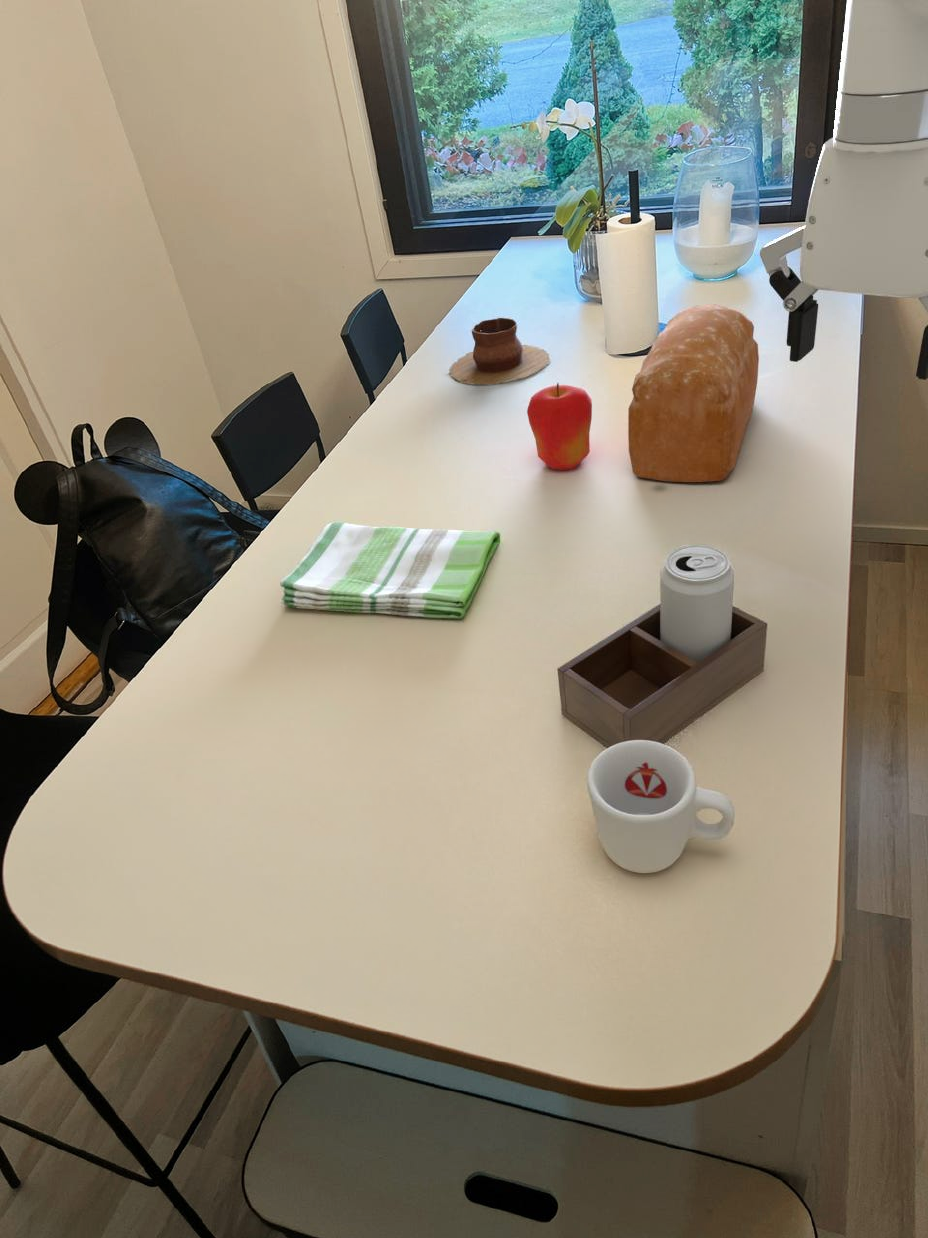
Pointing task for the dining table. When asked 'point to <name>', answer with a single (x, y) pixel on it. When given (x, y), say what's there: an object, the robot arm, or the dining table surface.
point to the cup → (650, 805)
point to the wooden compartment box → (655, 680)
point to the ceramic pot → (498, 355)
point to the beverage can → (696, 600)
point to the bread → (694, 396)
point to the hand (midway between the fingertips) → (862, 363)
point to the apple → (561, 425)
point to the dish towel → (390, 570)
